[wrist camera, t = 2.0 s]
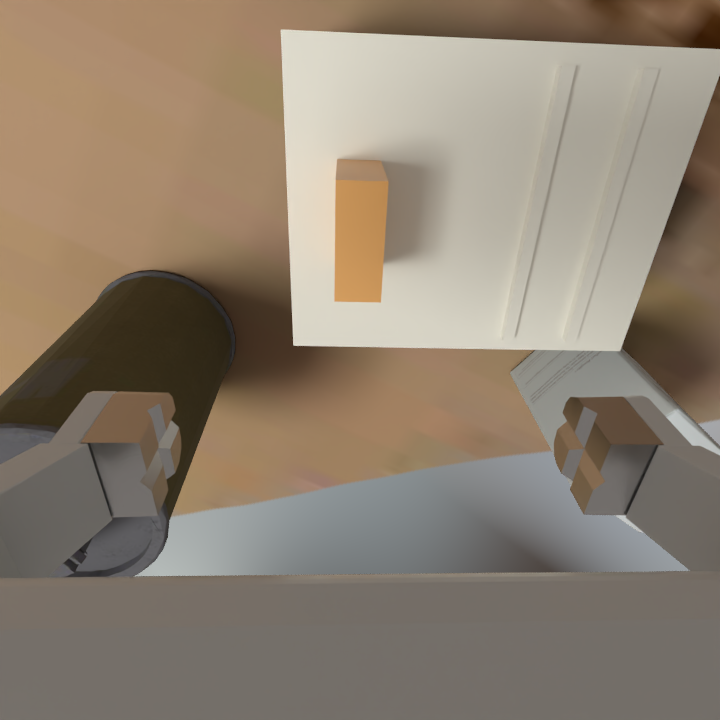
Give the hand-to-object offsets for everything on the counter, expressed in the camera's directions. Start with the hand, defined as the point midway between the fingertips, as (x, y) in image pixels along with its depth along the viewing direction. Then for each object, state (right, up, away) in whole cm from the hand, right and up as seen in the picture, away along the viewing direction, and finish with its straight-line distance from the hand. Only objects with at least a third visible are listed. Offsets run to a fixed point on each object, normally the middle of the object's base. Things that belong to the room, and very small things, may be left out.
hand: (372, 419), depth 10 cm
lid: (+6, +9, +15) cm, 18 cm away
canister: (-15, +3, +27) cm, 31 cm away
